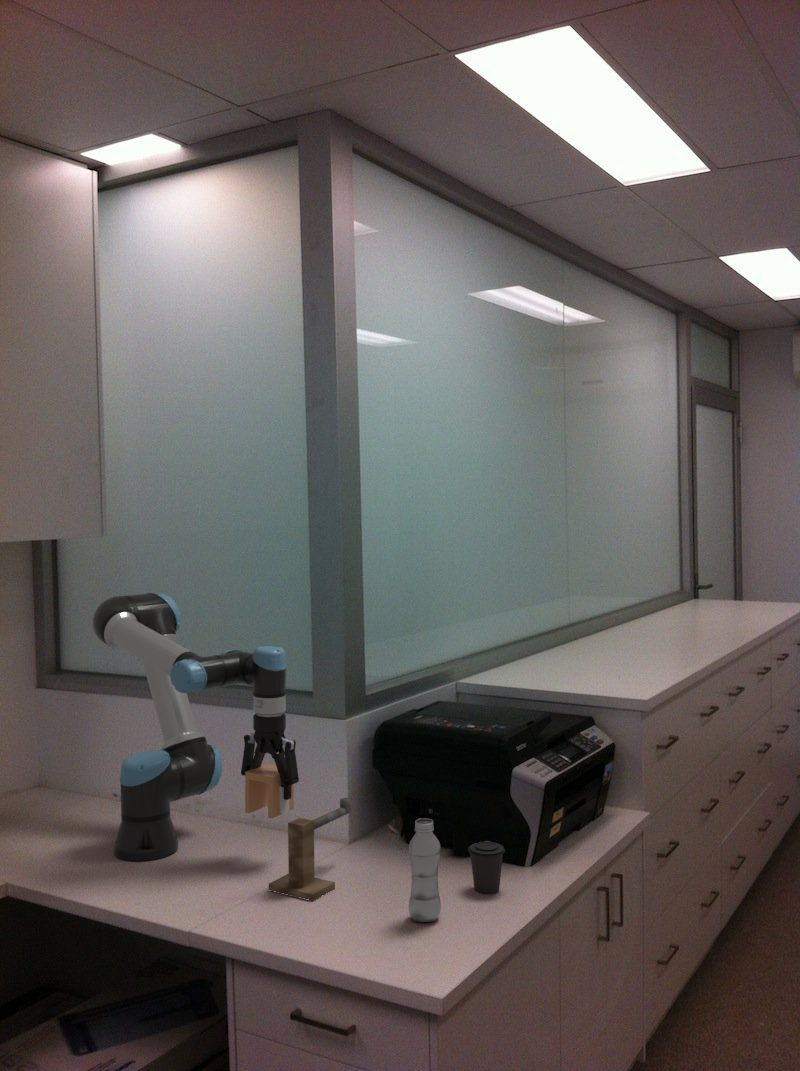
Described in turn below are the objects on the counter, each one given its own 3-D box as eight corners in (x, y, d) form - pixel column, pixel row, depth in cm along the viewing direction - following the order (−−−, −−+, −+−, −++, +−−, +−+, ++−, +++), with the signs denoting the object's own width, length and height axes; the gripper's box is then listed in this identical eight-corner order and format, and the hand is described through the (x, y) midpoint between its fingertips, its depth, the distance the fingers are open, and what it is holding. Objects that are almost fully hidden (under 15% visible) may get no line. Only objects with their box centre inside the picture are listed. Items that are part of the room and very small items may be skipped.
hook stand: (268, 890, 217) (267, 820, 216) (327, 859, 236) (327, 794, 235) (313, 901, 210) (312, 829, 210) (370, 868, 229) (369, 801, 229)
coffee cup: (495, 880, 221) (494, 836, 221) (512, 893, 214) (511, 847, 213) (462, 886, 218) (461, 841, 218) (478, 899, 211) (477, 852, 210)
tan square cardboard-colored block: (245, 812, 232) (245, 771, 232) (267, 803, 239) (266, 763, 238) (272, 818, 228) (272, 777, 227) (293, 809, 235) (293, 768, 234)
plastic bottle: (401, 919, 201) (400, 821, 200) (425, 909, 206) (424, 814, 205) (424, 929, 196) (423, 828, 196) (448, 918, 201) (447, 820, 200)
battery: (479, 848, 242) (479, 807, 242) (469, 857, 236) (469, 815, 236) (462, 846, 244) (462, 805, 244) (452, 855, 238) (452, 813, 237)
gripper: (224, 711, 235) (225, 806, 236) (295, 721, 224) (295, 821, 225) (245, 705, 241) (245, 798, 242) (315, 715, 230) (315, 812, 231)
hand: (269, 809), depth 233 cm, fingers closed on tan square cardboard-colored block, 8 cm apart
